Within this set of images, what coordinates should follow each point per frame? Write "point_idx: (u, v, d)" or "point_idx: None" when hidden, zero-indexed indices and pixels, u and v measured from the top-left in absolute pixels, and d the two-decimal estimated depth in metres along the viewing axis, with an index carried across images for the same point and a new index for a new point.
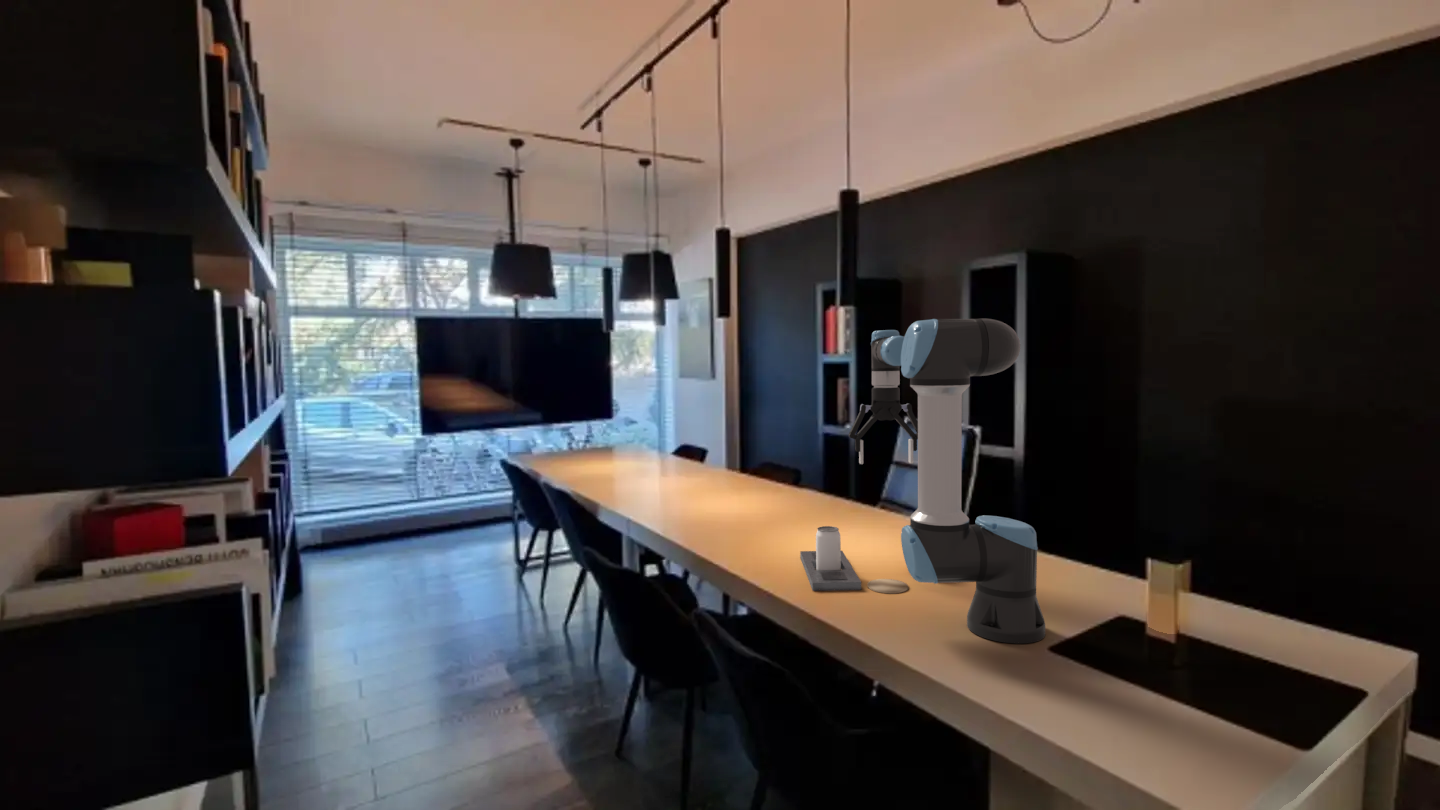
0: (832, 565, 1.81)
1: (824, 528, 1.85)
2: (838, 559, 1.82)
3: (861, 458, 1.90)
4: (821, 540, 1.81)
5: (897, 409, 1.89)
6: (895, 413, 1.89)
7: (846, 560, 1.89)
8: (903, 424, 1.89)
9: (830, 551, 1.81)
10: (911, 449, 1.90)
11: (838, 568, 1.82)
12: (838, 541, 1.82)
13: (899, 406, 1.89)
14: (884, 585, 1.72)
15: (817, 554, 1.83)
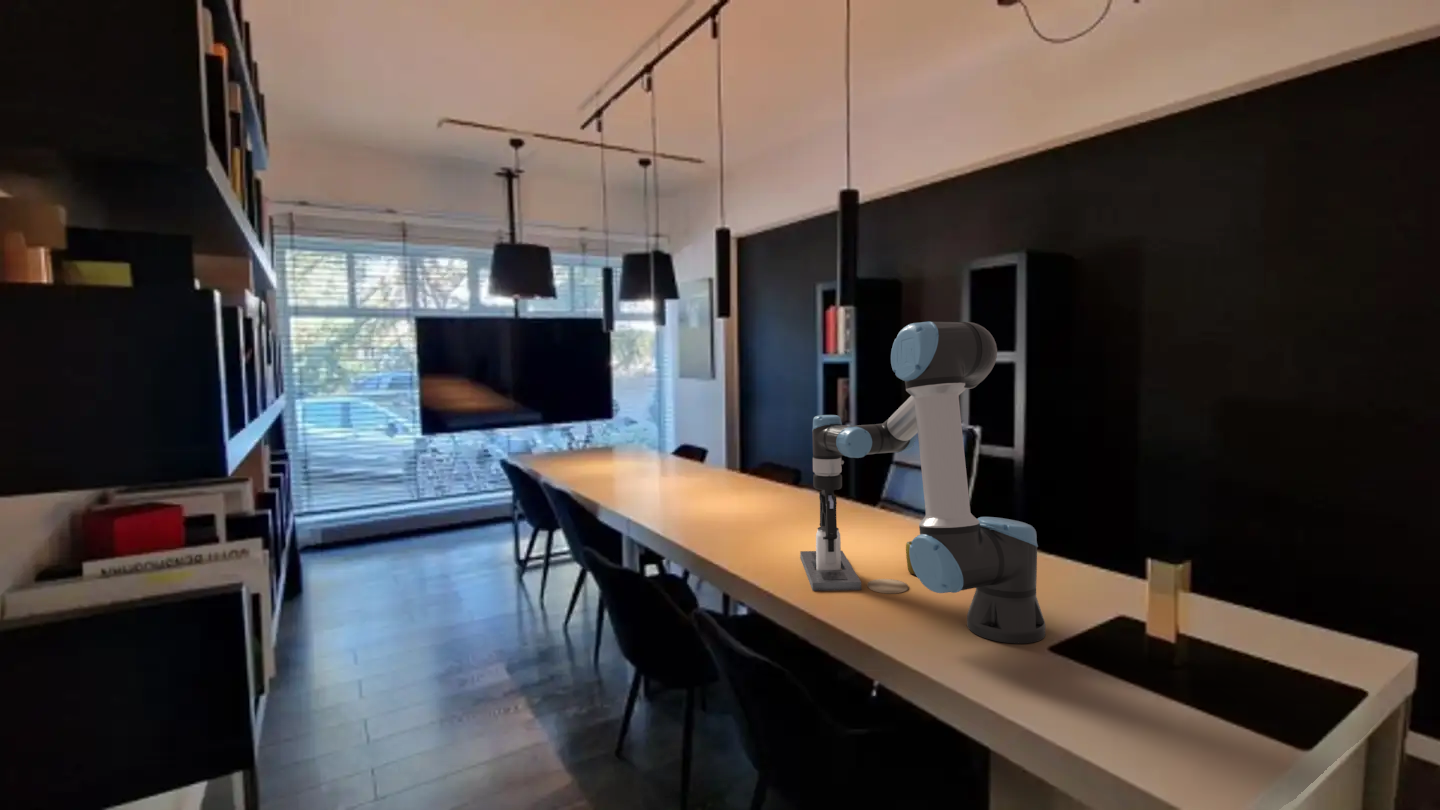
0: (832, 565, 1.81)
1: (824, 528, 1.85)
2: (838, 559, 1.82)
3: None
4: (821, 540, 1.81)
5: (825, 498, 1.80)
6: (822, 503, 1.81)
7: (846, 560, 1.89)
8: (824, 518, 1.81)
9: None
10: (825, 548, 1.81)
11: (838, 568, 1.82)
12: (838, 541, 1.82)
13: (825, 497, 1.80)
14: (884, 585, 1.72)
15: (817, 554, 1.83)
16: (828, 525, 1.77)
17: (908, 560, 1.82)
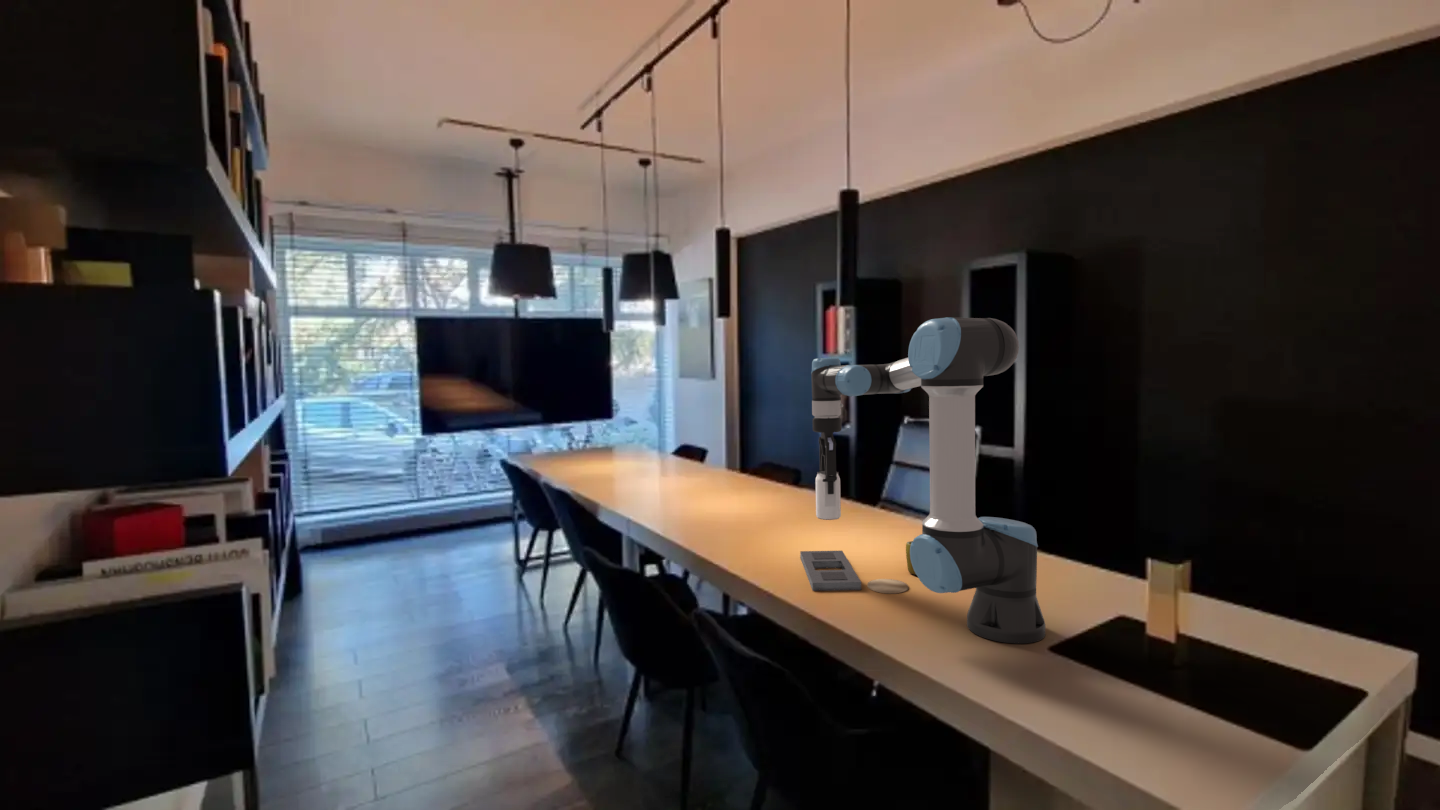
0: (832, 508, 1.80)
1: (824, 472, 1.84)
2: (838, 503, 1.81)
3: None
4: (821, 484, 1.80)
5: (824, 441, 1.79)
6: (821, 446, 1.80)
7: (846, 560, 1.89)
8: (824, 461, 1.80)
9: None
10: None
11: (838, 512, 1.81)
12: (838, 484, 1.81)
13: (825, 439, 1.78)
14: (884, 585, 1.72)
15: (817, 498, 1.82)
16: (828, 466, 1.76)
17: (908, 560, 1.82)
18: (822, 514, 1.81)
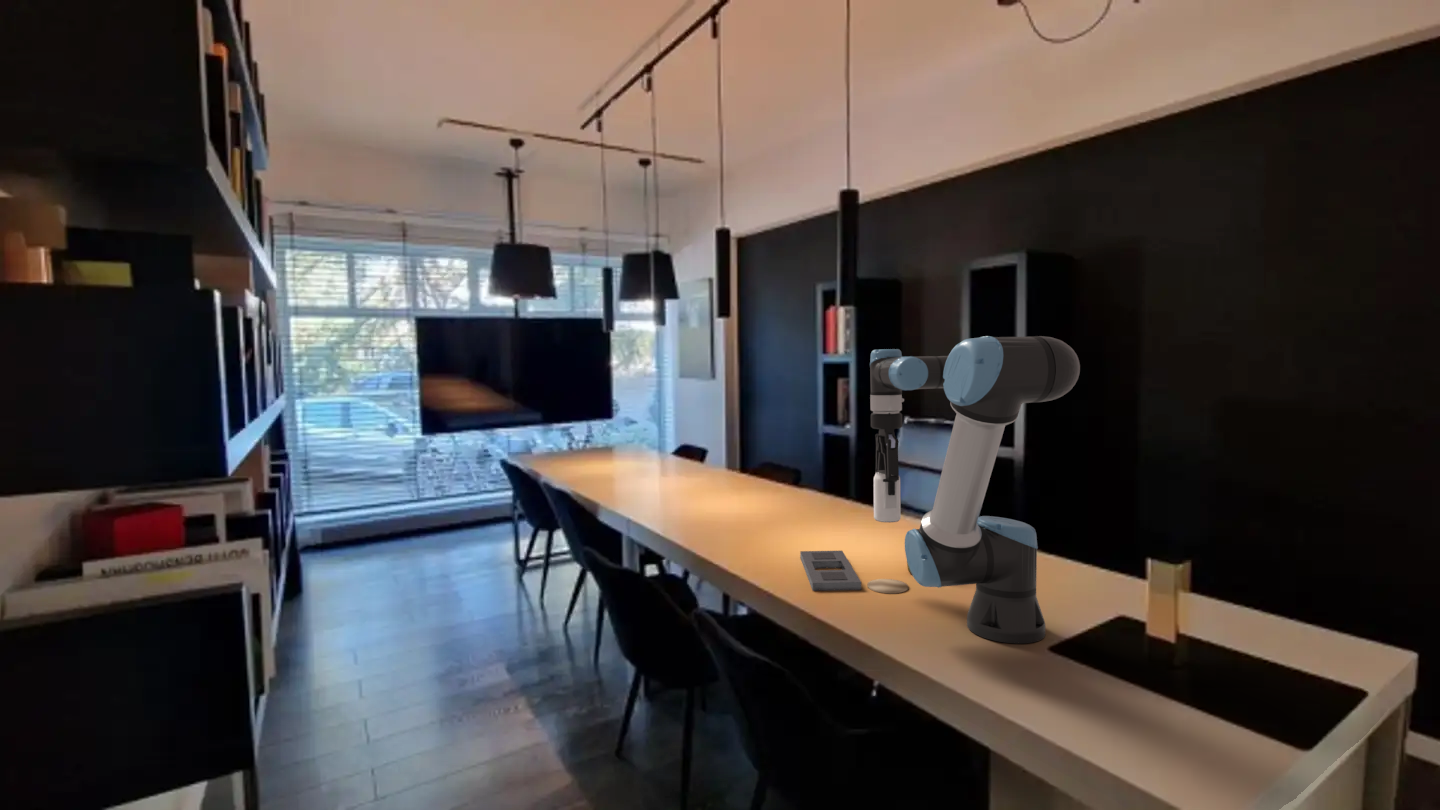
0: (892, 510, 1.68)
1: (882, 472, 1.72)
2: (898, 504, 1.69)
3: None
4: (880, 484, 1.68)
5: (884, 438, 1.67)
6: (881, 444, 1.68)
7: (846, 560, 1.89)
8: (884, 459, 1.67)
9: None
10: (884, 492, 1.67)
11: (898, 514, 1.69)
12: (898, 484, 1.69)
13: (885, 436, 1.66)
14: (884, 585, 1.72)
15: (875, 499, 1.70)
16: (889, 466, 1.64)
17: None
18: (881, 517, 1.69)
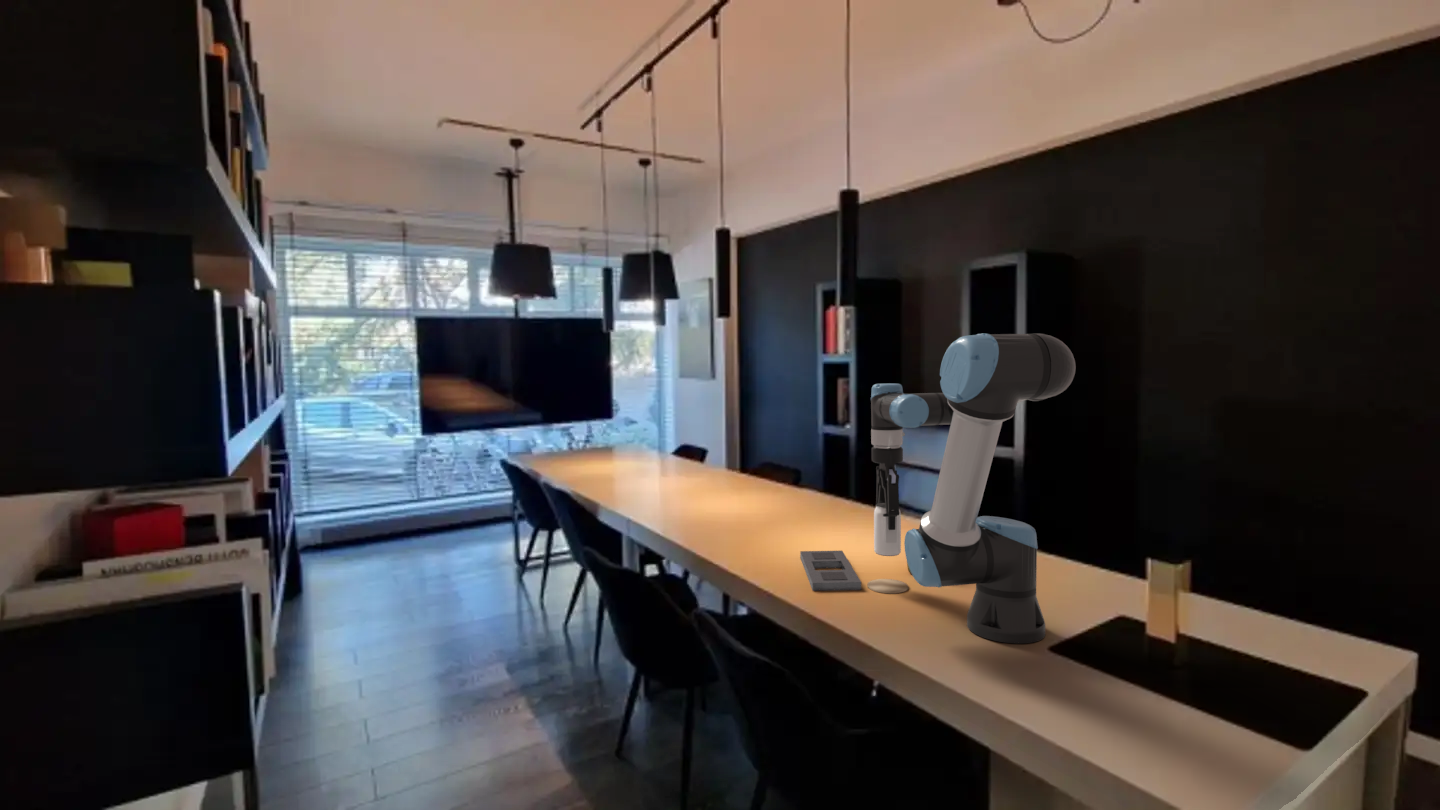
0: (892, 544, 1.69)
1: (882, 505, 1.73)
2: (899, 538, 1.69)
3: None
4: (881, 518, 1.69)
5: (885, 473, 1.68)
6: (881, 478, 1.69)
7: (846, 560, 1.89)
8: (885, 494, 1.68)
9: None
10: (885, 526, 1.68)
11: (898, 547, 1.70)
12: (899, 518, 1.69)
13: (886, 471, 1.67)
14: (884, 585, 1.72)
15: (876, 532, 1.71)
16: (890, 501, 1.64)
17: None
18: (881, 550, 1.69)
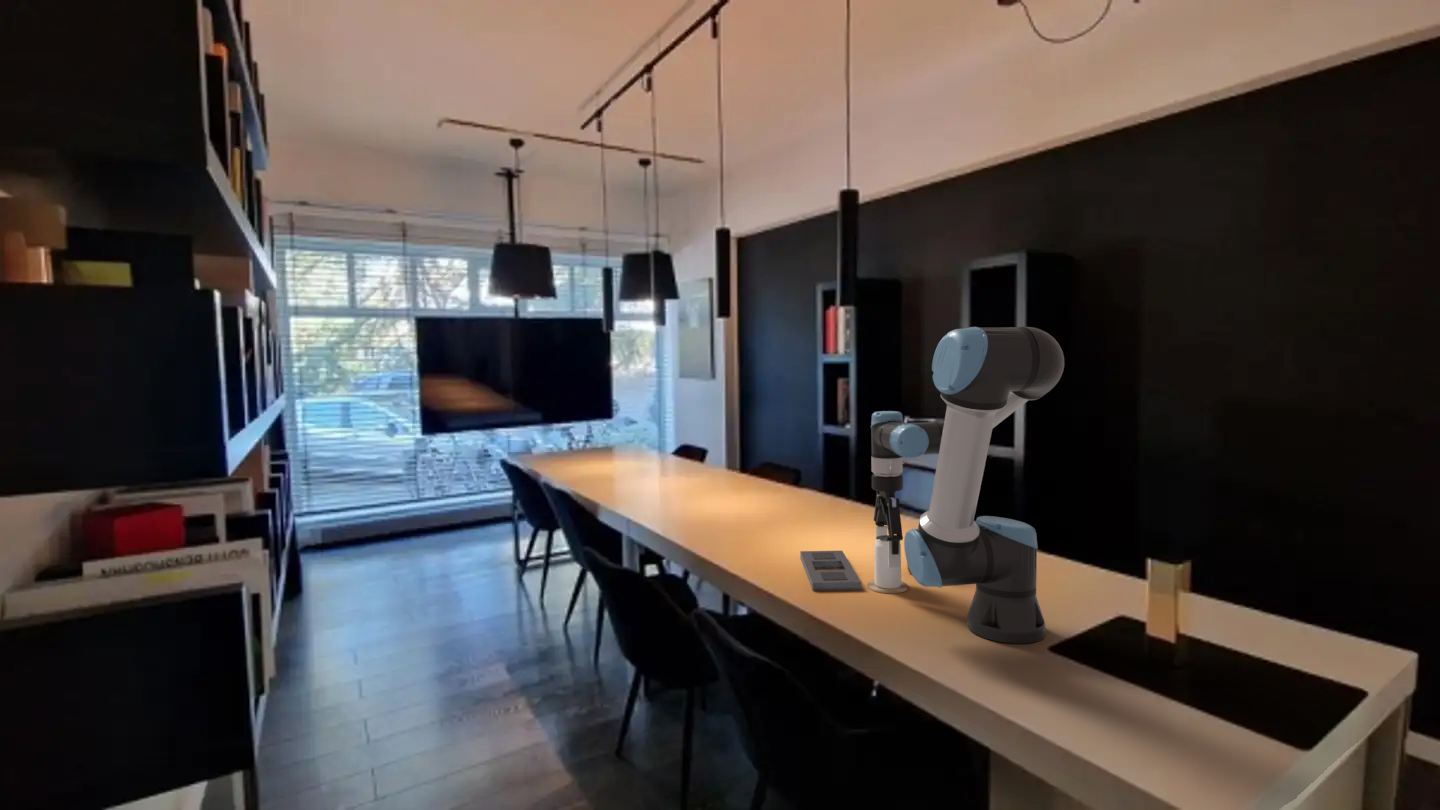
0: (893, 577, 1.69)
1: (883, 537, 1.73)
2: (899, 571, 1.70)
3: None
4: (881, 551, 1.69)
5: (885, 501, 1.68)
6: (882, 505, 1.69)
7: (846, 560, 1.89)
8: (886, 520, 1.67)
9: None
10: (888, 550, 1.65)
11: (899, 580, 1.70)
12: None
13: (886, 498, 1.67)
14: None
15: (876, 565, 1.71)
16: (892, 524, 1.63)
17: None
18: (882, 583, 1.70)
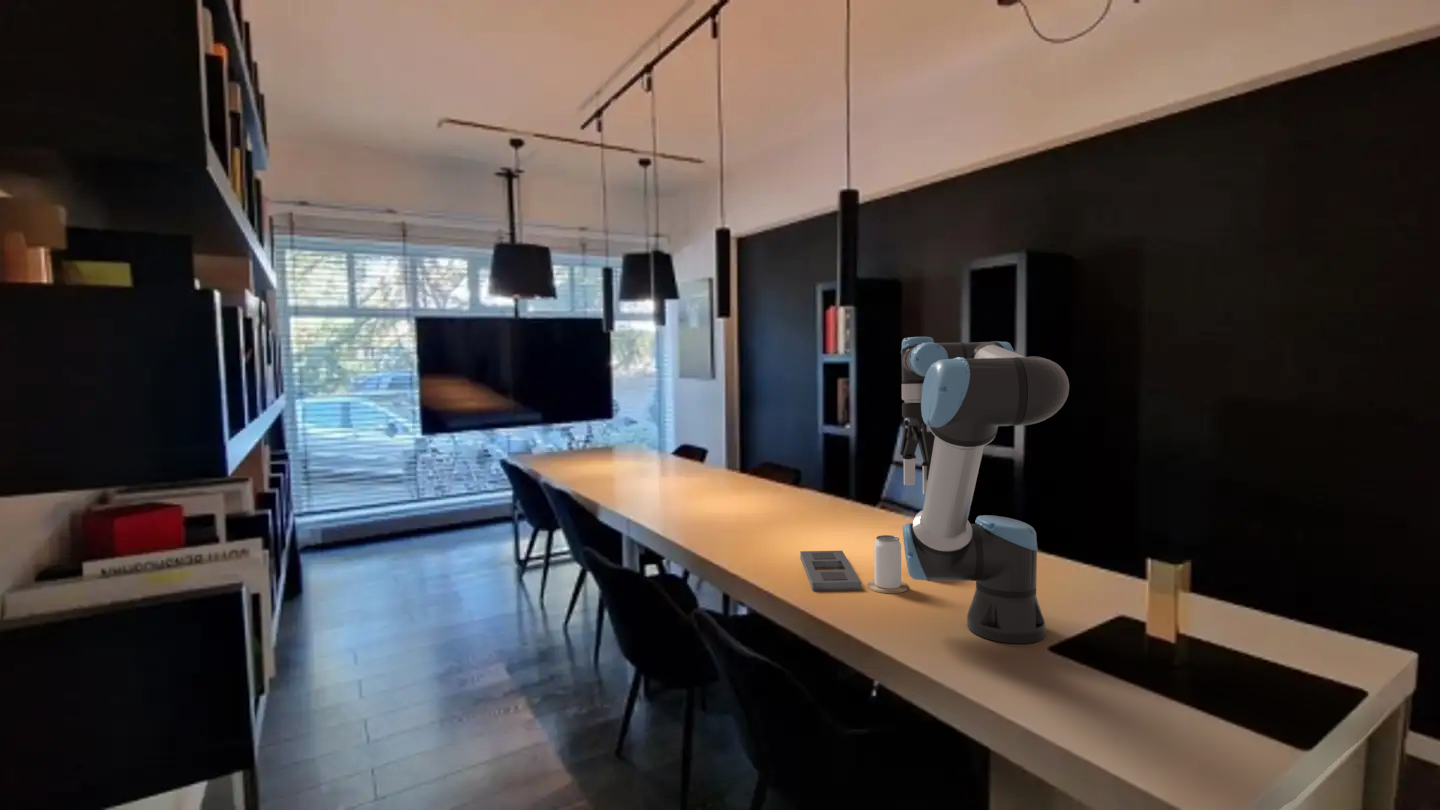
0: (893, 577, 1.69)
1: (883, 537, 1.73)
2: (899, 571, 1.70)
3: (904, 478, 1.74)
4: (881, 551, 1.69)
5: (918, 428, 1.64)
6: (914, 432, 1.64)
7: (846, 560, 1.89)
8: (920, 446, 1.62)
9: (891, 562, 1.69)
10: (923, 477, 1.60)
11: (899, 580, 1.70)
12: (899, 551, 1.70)
13: (919, 425, 1.63)
14: None
15: (876, 565, 1.71)
16: (928, 448, 1.58)
17: None
18: (882, 583, 1.70)
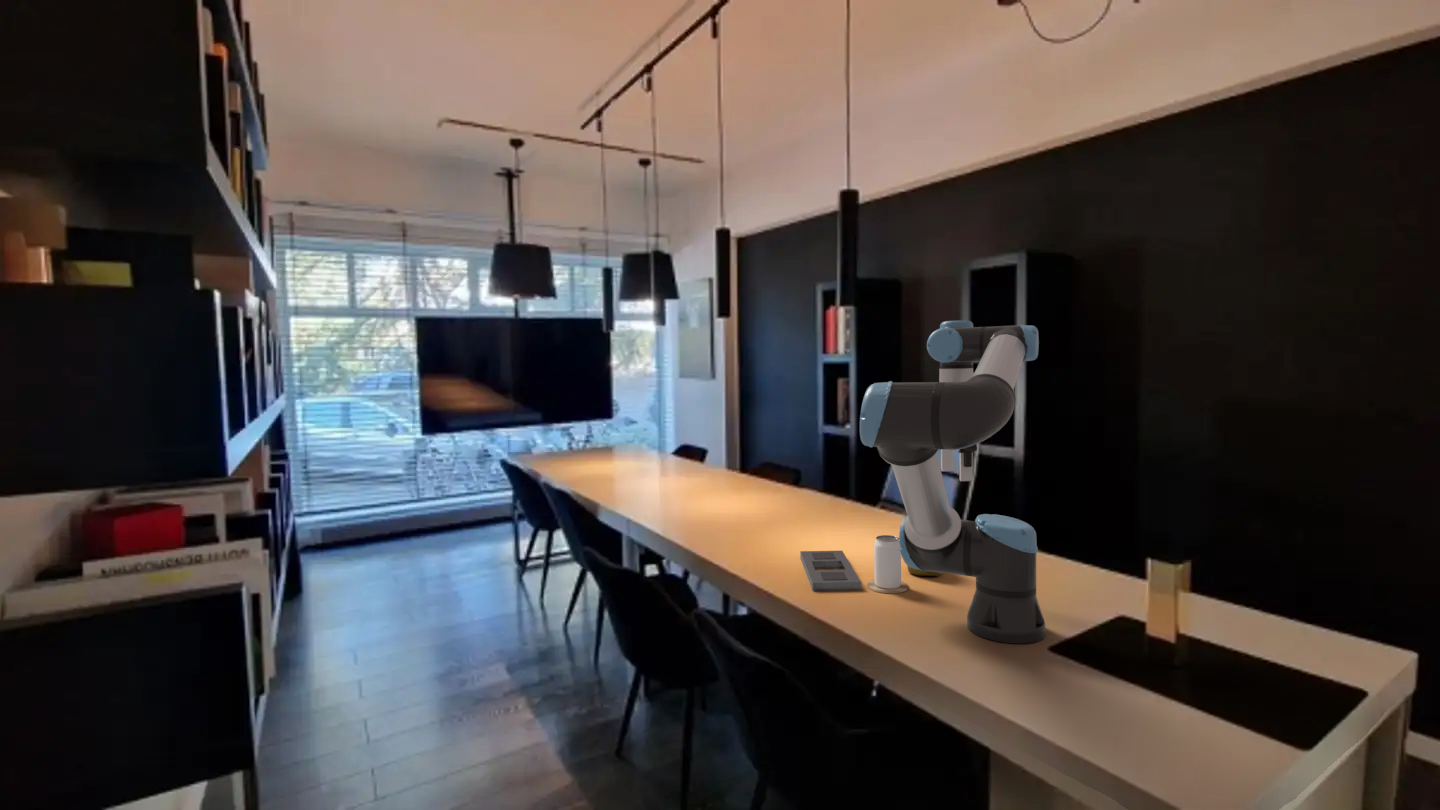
0: (893, 577, 1.69)
1: (883, 537, 1.73)
2: (899, 571, 1.70)
3: (941, 464, 1.71)
4: (881, 551, 1.69)
5: None
6: None
7: (846, 560, 1.89)
8: None
9: (891, 562, 1.69)
10: (960, 463, 1.57)
11: (899, 580, 1.70)
12: (899, 551, 1.70)
13: None
14: None
15: (876, 565, 1.71)
16: None
17: None
18: (882, 583, 1.70)
